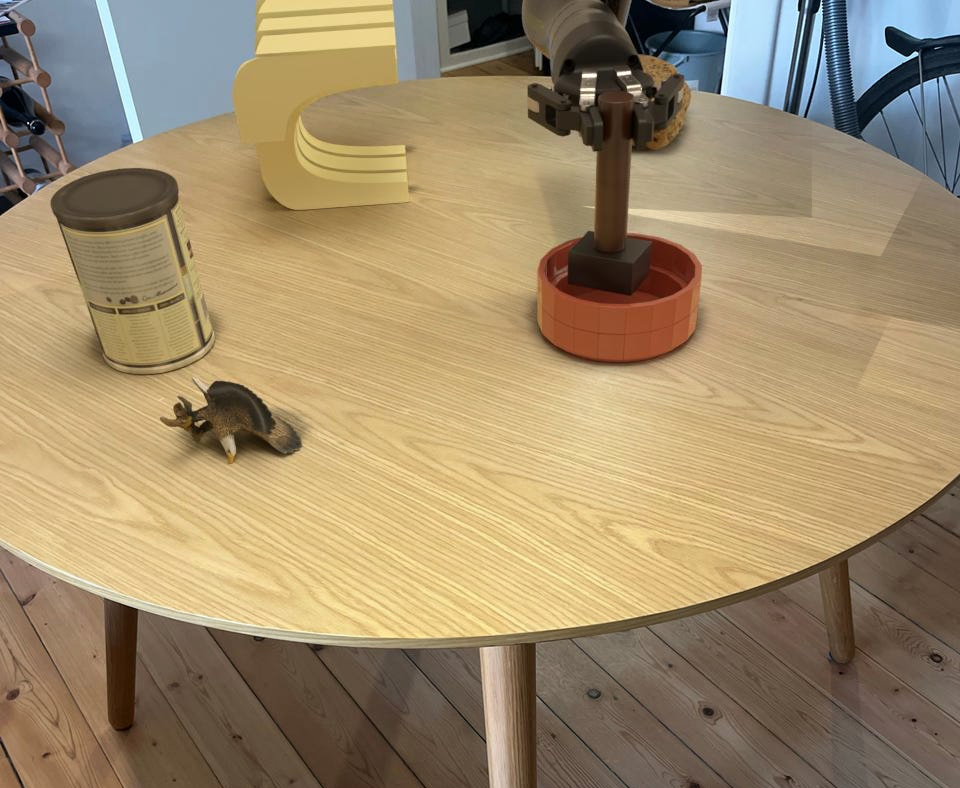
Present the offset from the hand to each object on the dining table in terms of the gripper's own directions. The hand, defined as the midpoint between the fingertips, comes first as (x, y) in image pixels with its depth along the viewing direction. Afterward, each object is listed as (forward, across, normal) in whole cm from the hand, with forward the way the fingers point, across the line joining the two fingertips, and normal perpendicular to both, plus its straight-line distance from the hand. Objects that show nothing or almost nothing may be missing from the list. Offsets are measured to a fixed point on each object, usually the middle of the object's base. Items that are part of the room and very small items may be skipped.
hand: (620, 136), depth 79 cm
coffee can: (-4, -41, +17) cm, 45 cm away
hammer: (-3, 0, +13) cm, 13 cm away
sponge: (-52, +10, +17) cm, 56 cm away
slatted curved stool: (-39, -27, +17) cm, 50 cm away
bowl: (-2, +1, +17) cm, 17 cm away
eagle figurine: (+14, -32, +17) cm, 38 cm away
